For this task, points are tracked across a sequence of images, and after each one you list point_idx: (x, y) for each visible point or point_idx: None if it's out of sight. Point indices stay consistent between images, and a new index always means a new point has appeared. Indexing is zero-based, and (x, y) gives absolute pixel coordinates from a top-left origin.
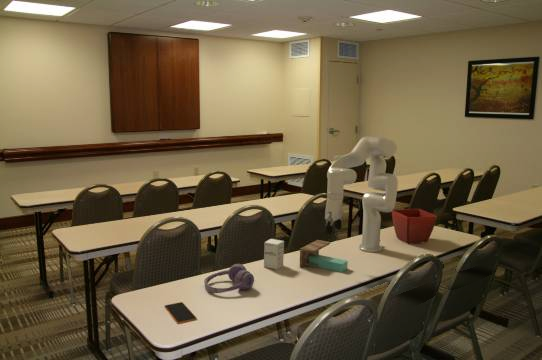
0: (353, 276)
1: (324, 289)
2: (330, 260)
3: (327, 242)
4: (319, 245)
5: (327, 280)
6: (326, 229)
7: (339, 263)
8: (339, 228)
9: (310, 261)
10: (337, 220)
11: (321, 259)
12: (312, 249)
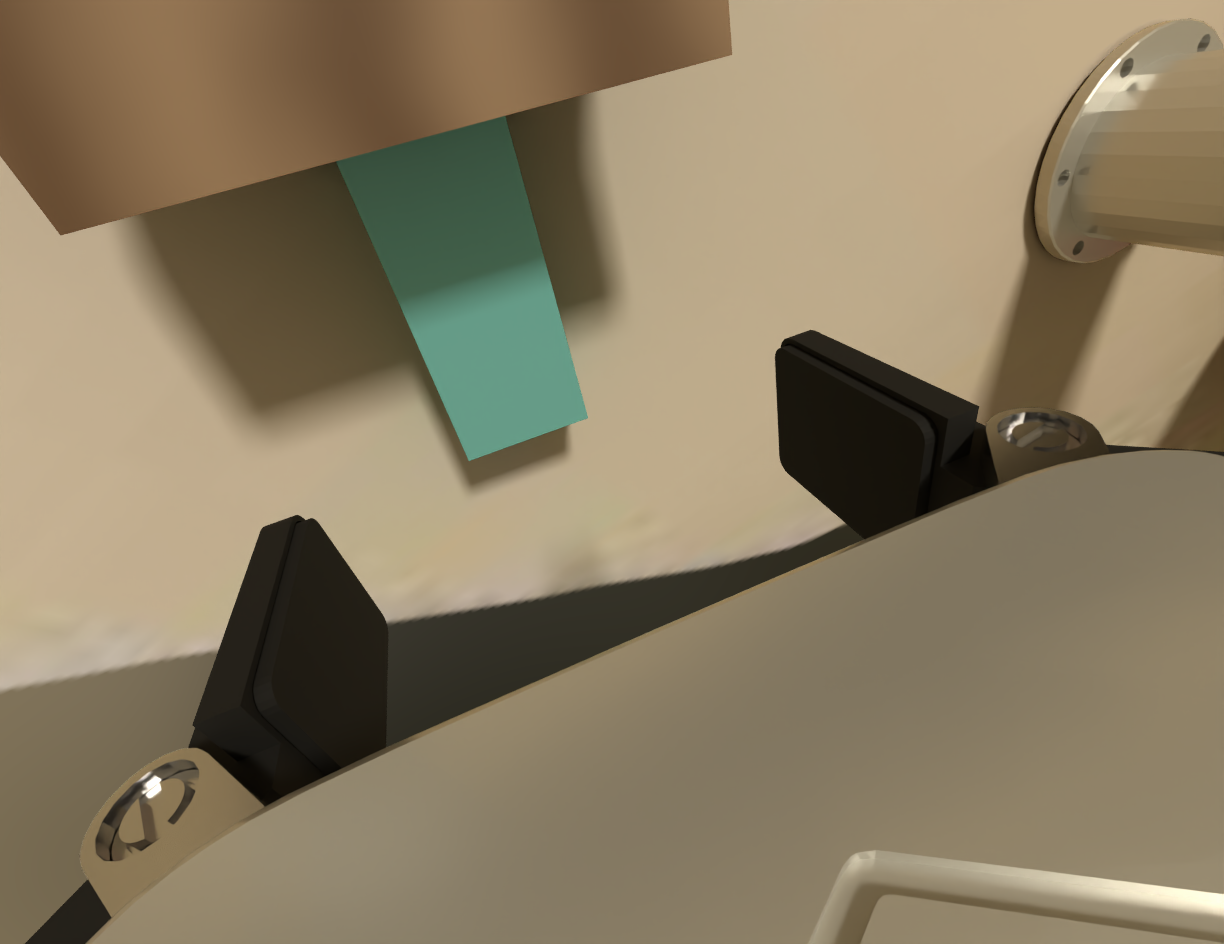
0: (473, 527)
1: (21, 630)
2: (442, 309)
3: (694, 29)
4: (438, 46)
5: (187, 500)
6: (251, 599)
7: (459, 432)
8: (791, 454)
9: None
10: (955, 497)
11: (363, 204)
12: (114, 141)
